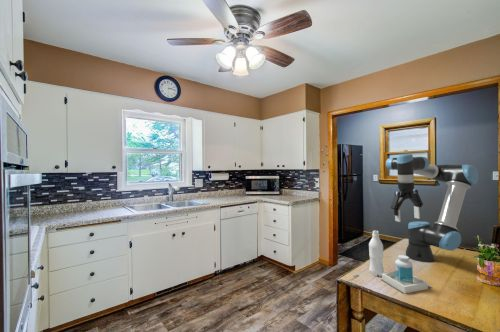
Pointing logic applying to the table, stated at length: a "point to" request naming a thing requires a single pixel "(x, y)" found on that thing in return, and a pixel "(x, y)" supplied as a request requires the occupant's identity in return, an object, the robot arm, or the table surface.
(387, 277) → the tray
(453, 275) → the table surface
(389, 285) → the mat
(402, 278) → the pill bottle
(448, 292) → the table surface
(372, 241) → the water bottle
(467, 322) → the table surface
